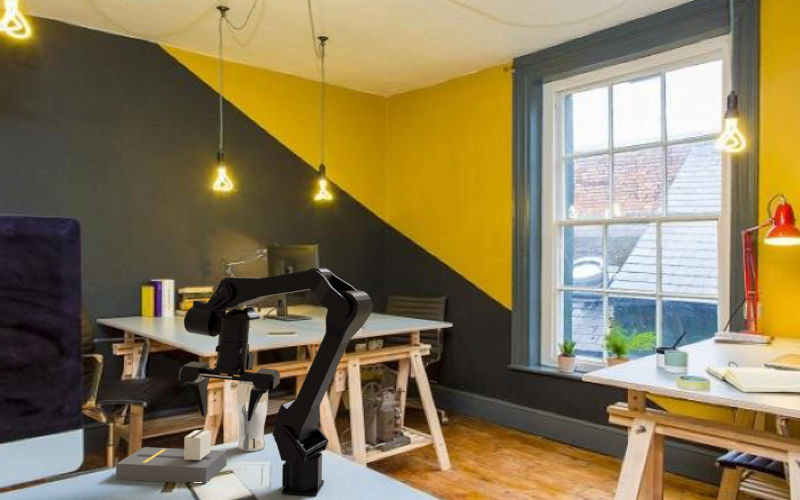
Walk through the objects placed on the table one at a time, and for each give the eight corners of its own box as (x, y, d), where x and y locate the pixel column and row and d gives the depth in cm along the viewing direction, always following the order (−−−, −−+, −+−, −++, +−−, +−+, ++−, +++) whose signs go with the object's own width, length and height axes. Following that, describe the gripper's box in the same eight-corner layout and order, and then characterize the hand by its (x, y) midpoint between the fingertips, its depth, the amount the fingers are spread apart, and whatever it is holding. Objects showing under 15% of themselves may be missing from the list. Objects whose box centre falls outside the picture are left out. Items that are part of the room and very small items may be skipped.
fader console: (226, 465, 120) (226, 450, 120) (205, 483, 110) (205, 467, 111) (143, 461, 122) (144, 446, 122) (116, 479, 112) (116, 463, 112)
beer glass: (256, 440, 137) (257, 376, 137) (273, 447, 132) (274, 381, 133) (229, 447, 132) (231, 381, 132) (246, 454, 127) (247, 385, 128)
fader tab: (210, 451, 118) (210, 429, 118) (199, 460, 113) (200, 437, 113) (195, 451, 119) (195, 429, 119) (184, 459, 114) (184, 436, 114)
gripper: (289, 338, 123) (283, 411, 123) (202, 330, 124) (196, 402, 124) (275, 347, 112) (268, 427, 112) (180, 338, 113) (174, 418, 113)
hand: (226, 418), depth 115 cm, fingers open, 9 cm apart
